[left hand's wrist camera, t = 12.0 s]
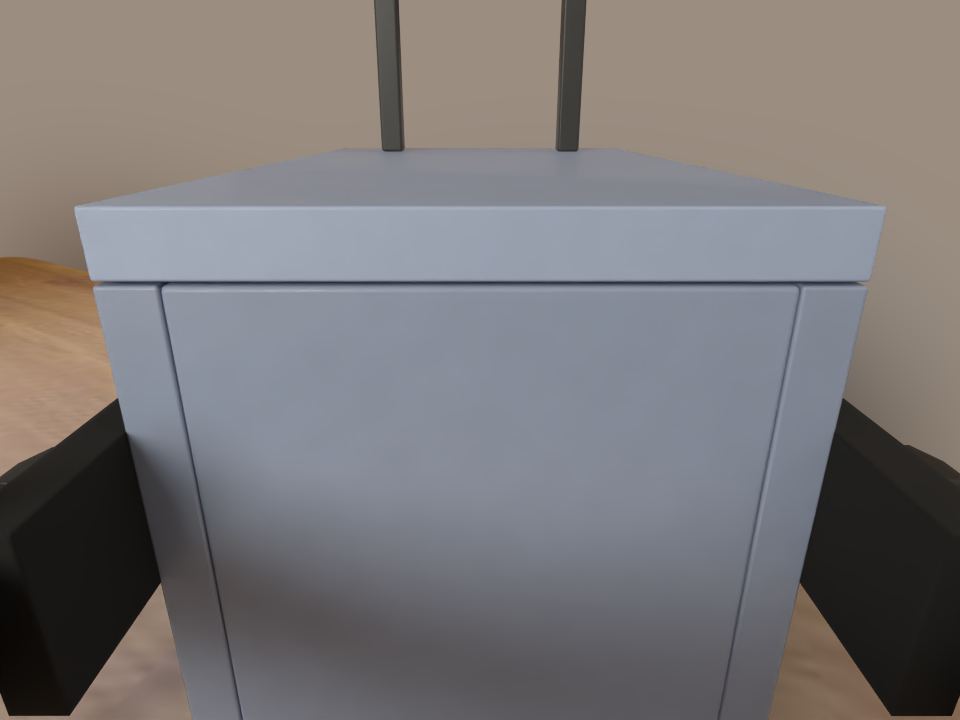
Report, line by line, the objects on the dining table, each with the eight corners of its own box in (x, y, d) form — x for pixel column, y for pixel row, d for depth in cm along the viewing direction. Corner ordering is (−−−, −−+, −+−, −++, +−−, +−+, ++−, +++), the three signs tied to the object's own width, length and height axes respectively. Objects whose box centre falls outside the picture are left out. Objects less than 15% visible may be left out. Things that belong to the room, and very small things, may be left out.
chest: (361, 426, 27) (342, 177, 23) (598, 426, 27) (617, 177, 23) (211, 814, 12) (89, 286, 8) (748, 813, 12) (872, 286, 8)
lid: (345, 175, 24) (324, -90, 21) (615, 175, 24) (635, -90, 21) (89, 282, 8) (-145, -724, 5) (872, 282, 8) (1107, -724, 5)
